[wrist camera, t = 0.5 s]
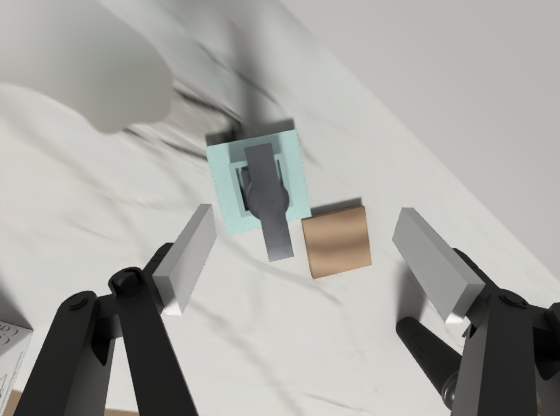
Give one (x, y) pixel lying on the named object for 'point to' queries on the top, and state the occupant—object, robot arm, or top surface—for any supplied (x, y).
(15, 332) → the cereal box
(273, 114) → the top surface
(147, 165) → the top surface
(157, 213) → the top surface
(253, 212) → the t key
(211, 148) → the square socket base
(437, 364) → the drinking cup
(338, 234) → the walnut pad
